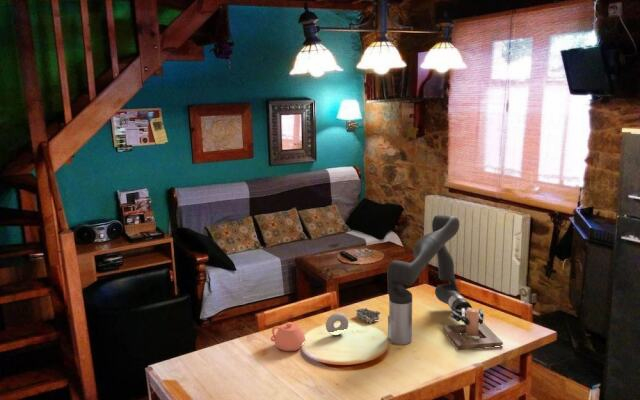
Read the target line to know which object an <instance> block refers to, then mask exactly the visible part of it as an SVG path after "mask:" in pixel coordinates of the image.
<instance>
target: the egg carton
mask: <svg viewBox="0 0 640 400" xmlns="http://www.w3.org/2000/svg"><path fill="white" fill-rule="evenodd" d="M355 312H356V318H357V319H360V320H361V321H362V320H366V321H365V323H366V322H367V323H366V324H373V323H374V321H373V320H379V319H380V315H381V312H380V311H378V310H376V311H375V310H372V309H368V308H366V307H365V308H358V309H355ZM367 317H368V318H367ZM379 321H380V320H379ZM368 322H369V323H368ZM372 322H373V323H372Z"/></svg>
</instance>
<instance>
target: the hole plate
mask: <svg viewBox="0 0 640 400" xmlns="http://www.w3.org/2000/svg"><path fill="white" fill-rule="evenodd" d="M442 330H444V331H445V332H444V331H443V332H444V334H445V335H446V334H447V335H448V336H447V335H446V336H447V337H448V338H450V339H449V340H450V341H451V343H452V342H453V343H452V344H453V346H455V347H456V349H457V350H458V351H465V350H466V349H467V350H476V349H475V348H481V349H486V348H485V347H495V346H501V345H503V344H504V342H503V341H502V340H501V338H500V337H499V336H497V335H496V334H495V333H494V332H493V331H492V329H491V328H490V327H488V326H487V325H486V323H484V322H483V323H482V324H480V323H479V329H478V335H479V336H480V335H481V336H482V337H483V338H482V337H481V336H480V337H481V338H468V339H467V338H465V337H464V336H463V334H460V333H466V324H465V323H463V324H451V325H442ZM495 348H496V347H495ZM467 350H466V351H467Z"/></svg>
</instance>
